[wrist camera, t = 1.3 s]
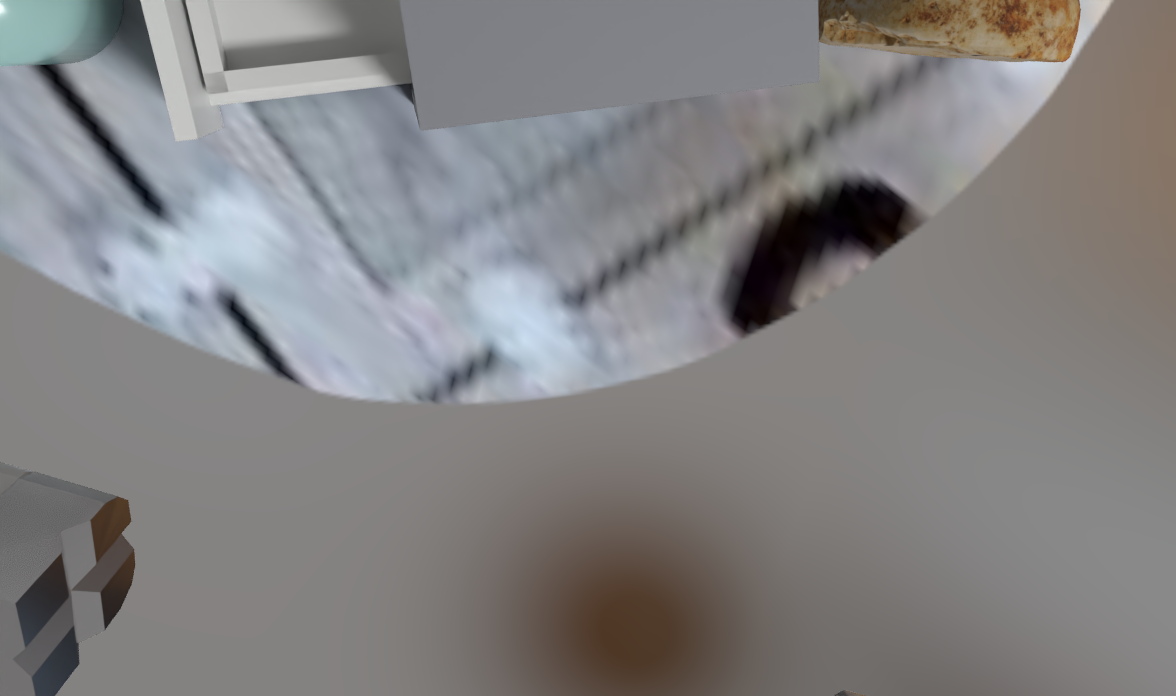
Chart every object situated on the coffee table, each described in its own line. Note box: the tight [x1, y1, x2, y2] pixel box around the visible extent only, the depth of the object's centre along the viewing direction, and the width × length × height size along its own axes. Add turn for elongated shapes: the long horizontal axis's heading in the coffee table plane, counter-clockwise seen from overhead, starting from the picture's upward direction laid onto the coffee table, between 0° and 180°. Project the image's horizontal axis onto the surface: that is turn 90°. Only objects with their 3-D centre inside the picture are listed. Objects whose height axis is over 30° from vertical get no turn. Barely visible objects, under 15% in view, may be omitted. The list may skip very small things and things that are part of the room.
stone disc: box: [818, 0, 1081, 62], centre depth 39 cm, size 10×4×10 cm, turn 82°
